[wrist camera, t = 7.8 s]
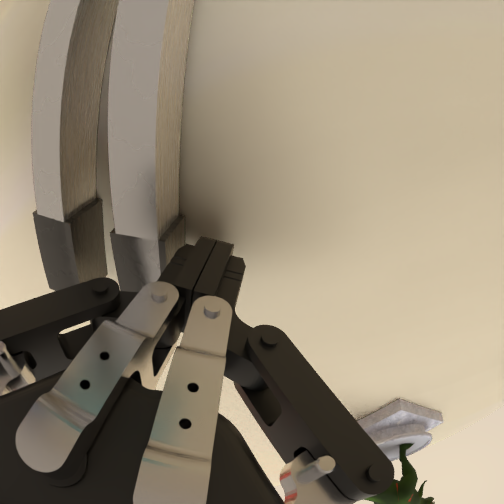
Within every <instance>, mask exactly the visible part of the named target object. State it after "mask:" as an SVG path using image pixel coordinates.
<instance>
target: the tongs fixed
mask: <svg viewBox="0 0 504 504" xmlns="http://www.w3.org/2000/svg"><path fill="white" fill-rule="evenodd" d="M118 3H119V0H50V4H49V7H48V11H47V15H46V18H45V22H44V27H43V31H42V36H41V41H40V46H39V51H38V57H37V64H36V71H35V79H34V89H33V103H32V166H33V180H34V190H35V199H36V207H37V210H36V211H34V212H33V217H34V223H35V229H36V234H37V239H38V244H39V249H40V253H41V257H42V262H43V266H44V270H45V273H46V277H47V281H48V284H49V288H51V289H53V290H55V291H58V290H61V289H64V288H67V287H70V286H73V285H76V284H79V283H83V282H86V281H89V280H92V279H95V278H100V277H106V275H107V266H106V257H105V245H104V232H103V213H102V200H100V199H96V147H97V129H98V116H99V105H100V96H101V88H102V81H103V74H104V68H105V62H106V56H107V51H108V46H109V41H110V37H111V32H112V28H113V24H114V20H115V16H116V12H117V8H118Z"/></svg>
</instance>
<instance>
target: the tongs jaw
mask: <svg viewBox="0 0 504 504" xmlns="http://www.w3.org/2000/svg"><path fill="white" fill-rule="evenodd" d="M194 1H195V0H119V3H118V8H117V14H116V20H115V27H114V34H113V42H112V51H111V61H110V74H109V91H108V155H109V174H110V187H111V198H112V208H113V217H114V225H115V228H114V229H113V230H112V231H111V232H110V236H111V243H112V249H113V255H114V260H115V266H116V271H117V276H118V281H119V285H120V290H121V291H128V292H140V290H141V289H142V288H143V287H144V286H145V285H146V284H148V283H151V282H156V281H157V280H158V279H159V277H160V275H161V274H162V272H163V271H164V269H165V268H166V266H167V265H168V263H170V260H171V259H172V257H174V254H175V253H176V251H177V250H178V249H179V248H181V247H182V246H184V245H185V216H182V215H179V161H180V136H181V118H182V103H183V90H184V79H185V69H186V59H187V50H188V42H189V34H190V27H191V20H192V14H193V7H194Z"/></svg>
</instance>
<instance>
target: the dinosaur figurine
mask: <svg viewBox="0 0 504 504" xmlns="http://www.w3.org/2000/svg"><path fill="white" fill-rule="evenodd" d="M357 422H358V423H359V425H360V426H361V427H362V428H363V429H364V431H365V432H366V433H367V434H368V435H369V436H370V438H371V439H372V440H373V441H374V442H375V443H376V445H377V446H378V447H379V448H380V449H381V450H382V452H383V453H384V454H385V455H386V456H387V457H388V459H389V460H390V461H393V460H397V459H399V460H400V461H401V462H402V475H403V477H402V478H401V480H400V481H398V480H395V479H393V482H392V484H391V485H390V487H389V488H388V489H387V490H385V491H384V492H382V493H380V494H377V495H374V496H372V497H369V498H366V499H364V500H369V501H373V502H374V504H434V503H435V502H432V501H433V500H434V498H433V497H428V498H425V499H424V498H422V495H423V486H424V483H425V482H426V481H424V483H423V484H422V485H421V487H420V489H419V491H418V492H417V491H416V490H415V486H416V483H417V479H418V478H417V474H416V472H415V469H414V468H413V467H412V465H411V464H410V463H409V461H408V460H407V458H406V456H408V455H411V454H413V453H415V452H417V451H419V450H421V449H423V448H424V447H426V446H427V445H428V444H429V443H430V442H431V440H432V435H431V434H430V433H428V432H427V431H429V430H430V429H432V428H434V427H436V426H437V425H439V424H441V423H443V422H444V421H443V417H442V413H440V412H437V411H434V410H431V409H428V408H425V407H422V406H419V405H416V404H413V403H410V402H407V401H405V400H402V399H397V400H396V401H394V402H392V403H390V404H389V405H387V406H385V407H383V408H381V409H379V410H378V411H376V412H374V413H372V414H370V415H368V416H366V417H364V418H362V419H360V420H358V421H357Z"/></svg>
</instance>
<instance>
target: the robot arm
mask: <svg viewBox="0 0 504 504" xmlns="http://www.w3.org/2000/svg"><path fill="white" fill-rule="evenodd" d="M233 249H234V244H230V243H226V242H223V241H219V240H218V241H217V240H214V239H211V238H207V237H203V236H201V237H200V238H199V240H198V241H197V243H196V245H195V246H193V245H189V244H186V245H184V246H182V247H181V248H179V249H178V250H177V251H176V253H175V254H174V257H172V259H171V260H170V263H168V265H167V266H166V268H165V269H164V271H163V272H162V274H161V275H160V277H159V279H158V280H157V281H156V282H151V283H148V284H146V285H145V286H144V287H143V288H142V289H141V290H140V292H128V291H120V290H119V286H118V284H117V283H116V282H115V281H114V280H112V279H110V278H105V277H100V278H95V279H92V280H89V281H86V282H83V283H79V284H76V285H73V286H70V287H67V288H64V289H61V290H58V291H55V292H52V293H49V294H46V295H43V296H40V297H37V298H34V299H31V300H28V301H25V302H22V303H19V304H16V305H13V306H10V307H8V308H5V309H2V310H0V504H353V503H355V502H356V501H359V500H363V499H366V498H369V497H372V496H374V495H377V494H380V493H382V492H384V491H385V490H387V489H388V488H389V487H390V485H391V484H392V482H393V479H394V467H393V465H392V463H391V461H390V460H389V459H388V457H387V456H386V455H385V454H384V453H383V452H382V450H381V449H380V448H379V447H378V446H377V445H376V443H375V442H374V441H373V440H372V439H371V438H370V436H369V435H368V434H367V433H366V432H365V431H364V429H363V428H362V427H361V426H360V425H359V423H358V422H357V421H356V420H355V419H354V418H353V416H352V415H351V414H350V413H349V412H348V410H347V409H346V408H345V407H344V406H343V404H342V403H341V402H340V401H339V399H338V398H337V397H336V396H335V395H334V393H333V392H332V391H331V390H330V389H329V387H328V386H327V385H326V384H325V382H324V381H323V380H322V379H321V378H320V376H319V375H318V374H317V373H316V371H315V370H314V369H313V368H312V366H311V365H310V364H309V363H308V362H307V360H306V359H305V358H304V357H303V355H302V354H301V353H300V352H299V350H298V349H297V348H296V347H295V345H294V344H293V343H292V342H291V340H290V339H289V338H288V337H287V335H286V334H285V333H284V332H283V331H282V330H280V329H279V328H277V327H274V326H271V325H259V326H256V327H254V328H252V327H250V326H248V325H247V324H245V323H244V322H242V321H241V320H240V319H239V318H238V316H237V315H236V313H235V306H236V302H237V298H238V295H239V291H240V287H241V283H242V279H243V275H244V271H245V267H246V266H245V263H244V261H243V258H239V257H235V256H232V253H233ZM89 320H90V323H91V324H90V325H87V326H84V327H81V328H79V329H76V330H73V331H71V332H68V333H65V334H59V333H60V332H61V331H62V330H64V329H67V328H69V327H72V326H75V325H78V324H80V323H83V322H86V321H89ZM181 332H183V333H184V334H183V337H182V340H181V343H180V346H177V347H176V345H177V340H178V337H179V335H180V333H181ZM175 348H176V350H175ZM174 350H175V352H174ZM173 352H174V355H173V359H172V362H171V365H170V369H169V372H168V375H167V379H166V382H165V385H164V389H163V391H159V390H156V385H157V382H158V380H159V378H160V376H161V374H162V373H163V371H164V369H165V367H166V365H167V363H168V361H169V359H170V357H171V355H172V354H173ZM223 376H225V377H227V378H229V379H231V380H232V381H234V385H235V388H236V389H237V391H238V393H239V394H240V396H241V398H242V399H243V401H244V402H245V404H246V406H247V407H248V409H249V410H250V412H251V413H252V415H253V416H254V418H255V420H256V421H257V423H258V424H259V426H260V427H261V429H262V430H263V432H264V433H265V435H266V436H267V438H268V439H269V440H270V442H271V443H272V445H273V446H274V448H275V449H276V451H277V452H278V453H279V455H280V456H281V458H282V459H283V460H284V462H285V463H286V465H285V466H284V467H283V469H282V470H281V473H280V483H281V485H282V487H283V489H284V492H285V501H284V502H283V500H282V499H281V497H280V496H279V494H278V493H277V491H276V490H275V488H274V487H273V485H272V484H271V482H270V481H269V479H268V477H267V476H266V474H265V473H264V471H263V470H262V468H261V466H260V465H259V463H258V462H257V460H256V458H255V457H254V455H253V453H252V452H251V450H250V448H249V447H248V445H247V443H246V442H245V440H244V438H243V437H242V435H241V433H240V432H239V431H238V430H237V428H236V427H235V426H234V425H233V424H232V423H231V422H230V421H229V420H228V419H226V418H225V417H224V416H222V415H221V414H219V413H218V410H219V403H220V396H221V390H222V383H223Z"/></svg>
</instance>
